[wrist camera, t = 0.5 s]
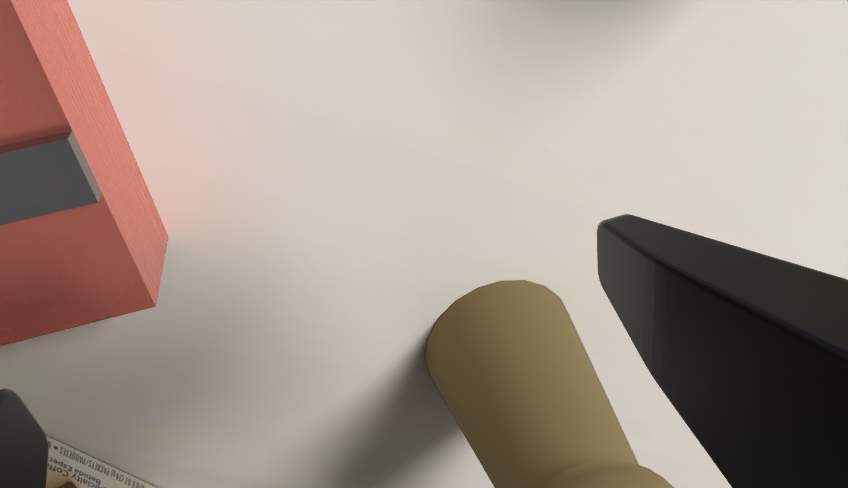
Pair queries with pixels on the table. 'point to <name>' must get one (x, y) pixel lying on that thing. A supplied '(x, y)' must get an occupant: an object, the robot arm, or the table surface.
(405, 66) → the table surface
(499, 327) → the olive tapered upright piece
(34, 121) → the block
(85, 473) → the coffee box
